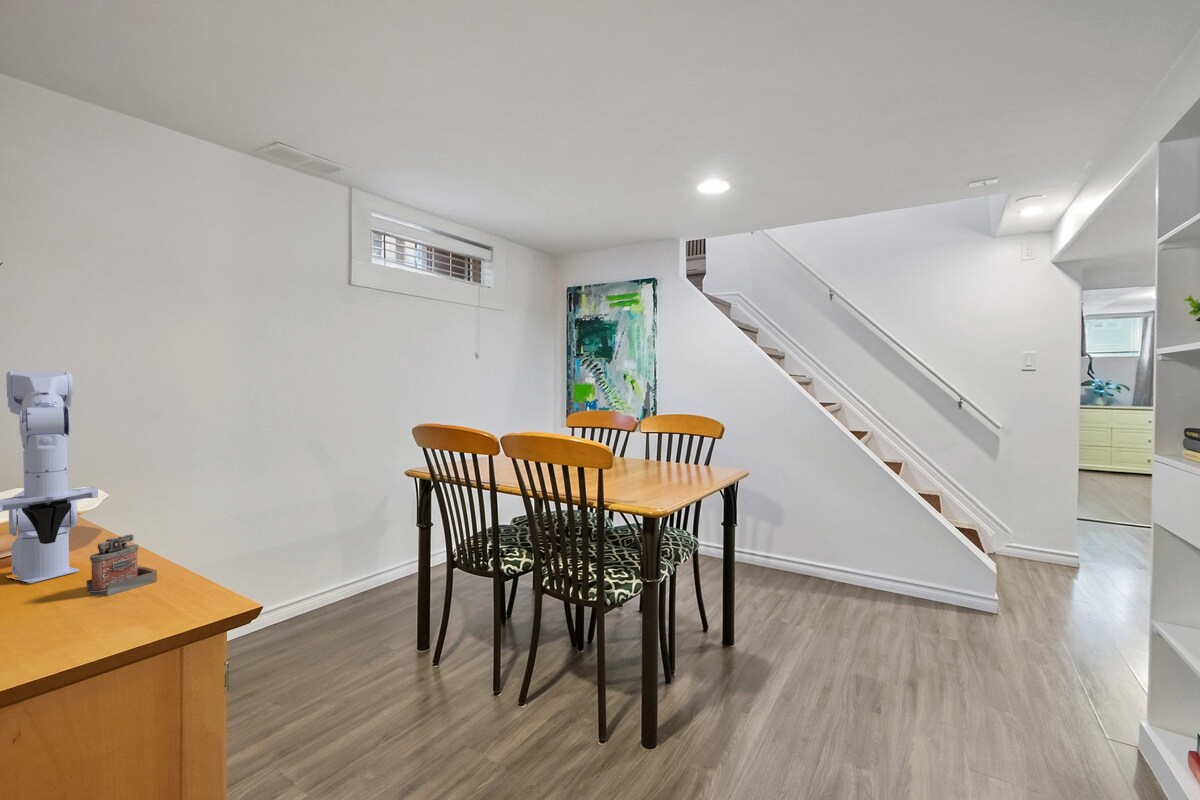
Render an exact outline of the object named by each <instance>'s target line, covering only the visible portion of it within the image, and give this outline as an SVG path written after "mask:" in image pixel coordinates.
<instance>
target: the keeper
mask: <svg viewBox="0 0 1200 800" xmlns="http://www.w3.org/2000/svg"><path fill="white" fill-rule="evenodd" d="M157 571H158V570H157V569H154V568H150V567H145V566H140V565H138V576H137V577H133V578H130V579H126V580H123V581H119V582H116V583H112V584H108V585H106V594H105V595H106V596H107V597H109V596H112V595H115V594H118V593H119V594H120V593H123V592H126V591H130V590H133V589H136V588H139V587H142V586H145V585H149V584H153V583H156V582H158V573H157ZM85 582H86V591H87V592H91V590H92V578H90V579H88V580H86V581H85Z"/></svg>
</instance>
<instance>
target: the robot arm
mask: <svg viewBox="0 0 1200 800" xmlns="http://www.w3.org/2000/svg"><path fill="white" fill-rule="evenodd" d="M5 377H6V398H7V407H8V408H9V412H10V413H12V414H14V415H18V416H19V435H20V439H21V444H22V445H21V447H22V449H24V450H23V452H22V453H23V490H22V491H20V492H18V493H17V494H15V495H13V496H12V497H8V498H3V499H0V513H1V512H5V511H8V530H9V531H8V533H9V535H11V536H13V537H16V536H17V537H16V539H14V541H13V543H12V544H11V549H10V553H11V555H10V556H11V558H10V559H11V560H10V561H11V574H14V575H17V576H19V577H15V578H16V579H18V580H21V581H24V582H27V583H26V584H28V583H29V584H34V583H38V582H42V581H45V580H50V579H54V578H58V577H62V576H65V575H66V576H67V575H70V574H74V573H77V572H80V569H79V568H76V567H71V566H70V542H69V541H70V538H69V535H70V534H69V532H70V530H71V529H74V528H75V527H76V526H77V525H78V503H77V500H84V499H85V500H86V499H95V498H99V488H98V487H95V486H90V487H82V488H75V489H69V465H68V464H69V457H68V456H69V455H68V453H69V452H68V437H70V434H71V431H72V430H71V427H72V419H71V418H72V417H71V411H70V408H71V406H72V400H73V399H72V398H73V396H74V395H73V394H74V393H73V392H74V387H73V385H74V382H73V381H74V380H73V375H72V373H70V371H62V372H61V371H23V370H22V371H18V370H17V371H16V370H15V371H14V370H11V369H10V370H9V371H7V372H6V376H5ZM67 436H68V437H67ZM24 582H23V583H24Z"/></svg>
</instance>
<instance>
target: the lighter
mask: <svg viewBox="0 0 1200 800" xmlns="http://www.w3.org/2000/svg"><path fill="white" fill-rule="evenodd" d="M133 541H135V536H134V534H125V535H122V536H119V537H109V538H107V539H106V540H105V541H102V542H99V543H97V550H98V552H97V553H94V554H91V555H90V556H89V560H90V562H91V563H90V564H91V579H92V590H90V596H92V597H98V596H103V595H106V585H108V584H112V583H116V582H119V581H123V580H126V579H130V578H133V577H137V576H138V566H139V565H138V550H139V549H140V547H139V544H128V543H129V542H133Z"/></svg>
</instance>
